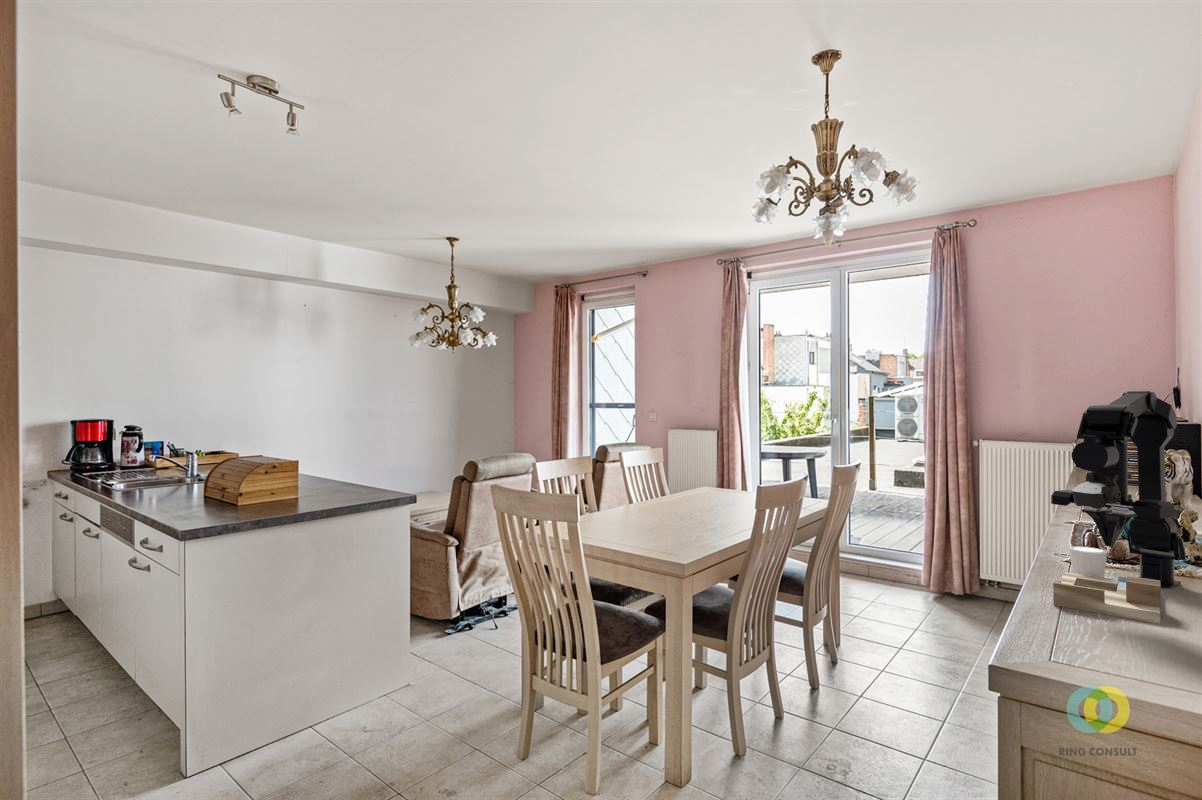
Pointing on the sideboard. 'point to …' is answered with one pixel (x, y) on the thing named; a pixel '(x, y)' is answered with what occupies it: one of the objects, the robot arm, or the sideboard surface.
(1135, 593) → the walnut block
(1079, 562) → the white cylinder
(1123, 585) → the strip
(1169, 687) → the sideboard surface
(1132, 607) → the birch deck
